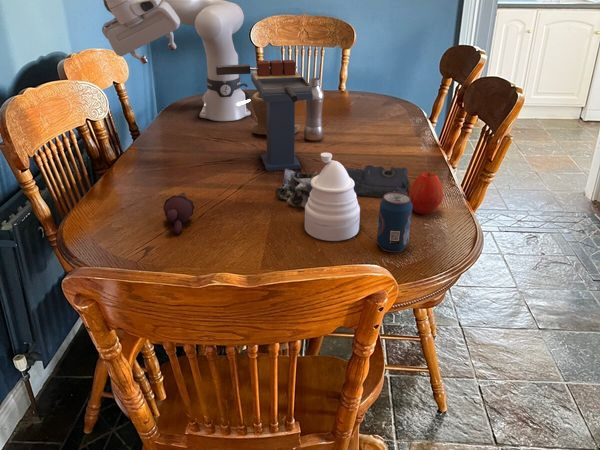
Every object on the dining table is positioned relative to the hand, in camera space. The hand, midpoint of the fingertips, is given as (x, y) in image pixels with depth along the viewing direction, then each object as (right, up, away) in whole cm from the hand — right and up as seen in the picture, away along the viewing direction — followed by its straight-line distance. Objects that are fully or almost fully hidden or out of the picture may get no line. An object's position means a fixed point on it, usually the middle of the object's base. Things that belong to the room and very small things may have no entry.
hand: (159, 55), depth 159 cm
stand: (+33, -29, +11) cm, 45 cm away
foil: (+39, -40, -10) cm, 57 cm away
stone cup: (+30, -17, +34) cm, 49 cm away
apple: (+70, -44, -16) cm, 84 cm away
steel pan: (+36, -12, -8) cm, 39 cm away
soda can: (+60, -52, -31) cm, 85 cm away
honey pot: (+47, -48, -24) cm, 71 cm away
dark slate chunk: (+58, -36, -2) cm, 68 cm away
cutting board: (+32, -5, +5) cm, 33 cm away
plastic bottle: (+43, -19, +31) cm, 56 cm away
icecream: (+10, -46, -22) cm, 52 cm away
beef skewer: (+27, -4, +4) cm, 27 cm away
